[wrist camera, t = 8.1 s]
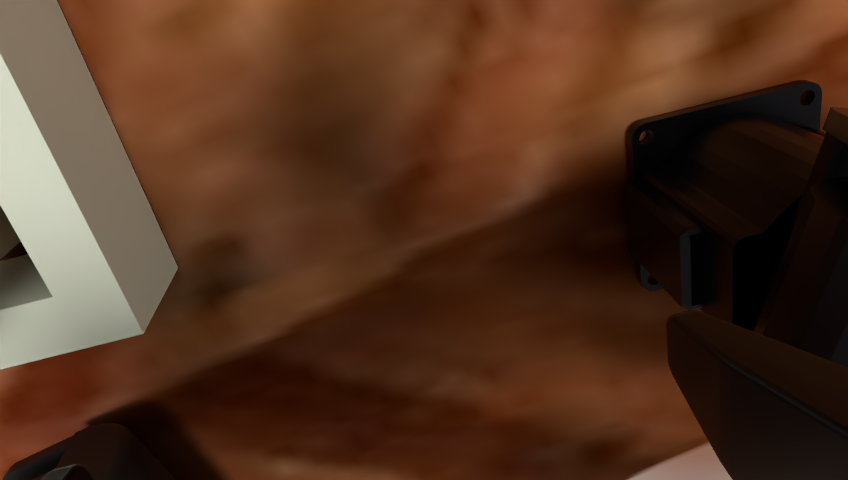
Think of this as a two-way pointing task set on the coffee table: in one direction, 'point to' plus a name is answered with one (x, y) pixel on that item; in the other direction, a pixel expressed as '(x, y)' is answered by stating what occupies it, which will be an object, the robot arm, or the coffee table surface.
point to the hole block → (68, 201)
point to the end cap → (95, 457)
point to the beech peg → (6, 235)
